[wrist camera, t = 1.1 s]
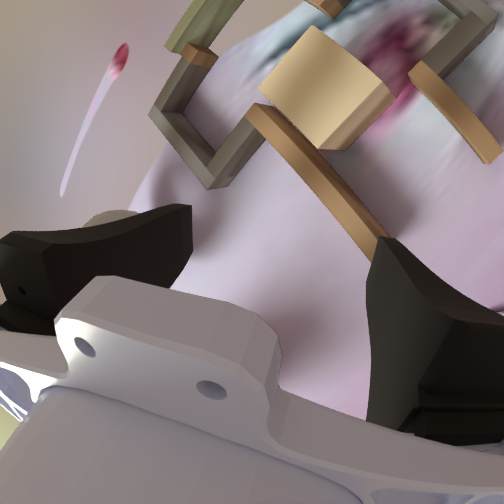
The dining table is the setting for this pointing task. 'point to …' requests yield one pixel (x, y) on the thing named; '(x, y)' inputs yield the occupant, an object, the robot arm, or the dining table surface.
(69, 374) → the robot arm
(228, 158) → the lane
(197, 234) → the dining table surface
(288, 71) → the block
